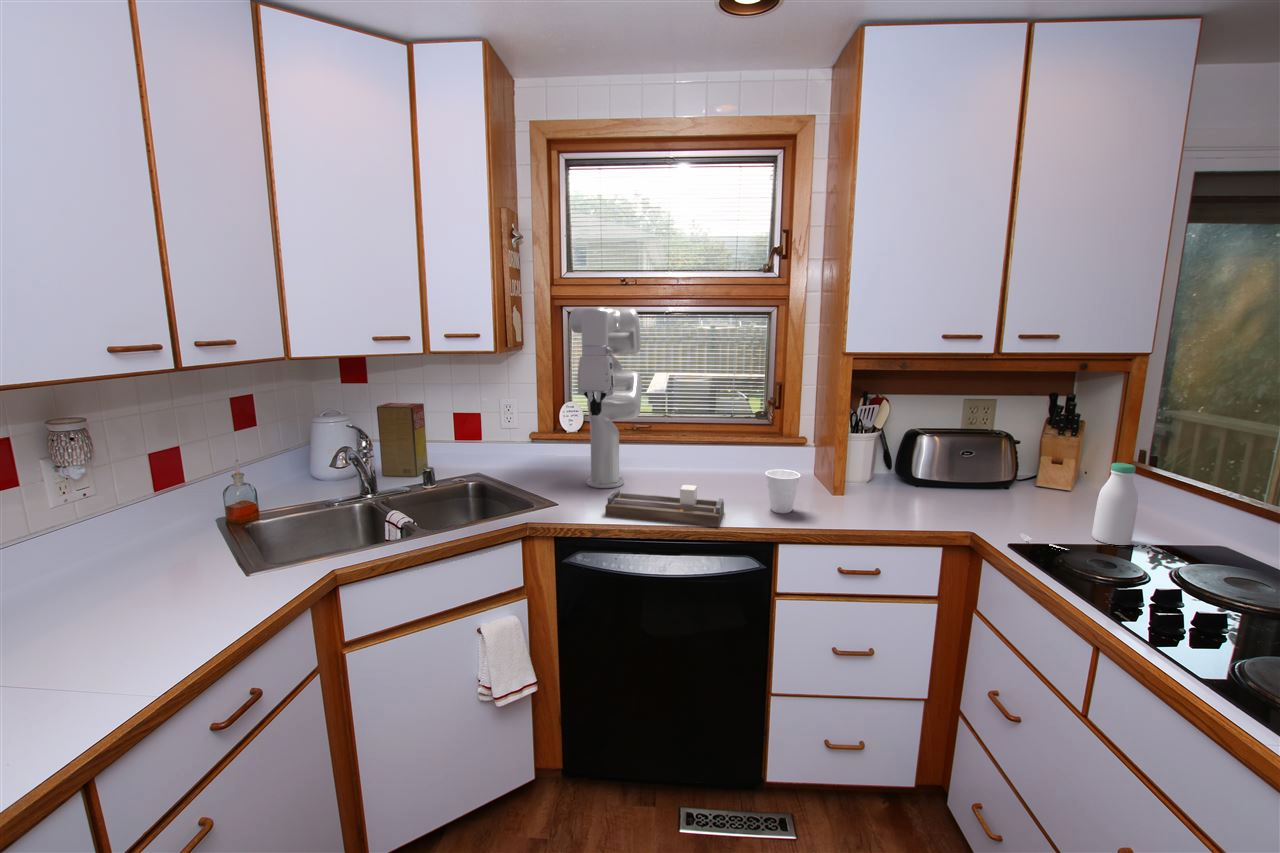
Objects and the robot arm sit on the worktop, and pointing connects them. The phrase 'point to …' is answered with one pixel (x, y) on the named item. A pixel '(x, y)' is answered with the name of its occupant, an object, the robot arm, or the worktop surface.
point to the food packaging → (402, 439)
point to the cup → (782, 489)
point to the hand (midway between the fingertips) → (595, 414)
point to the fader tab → (688, 495)
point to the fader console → (664, 509)
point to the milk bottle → (1116, 507)
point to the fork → (1031, 538)
